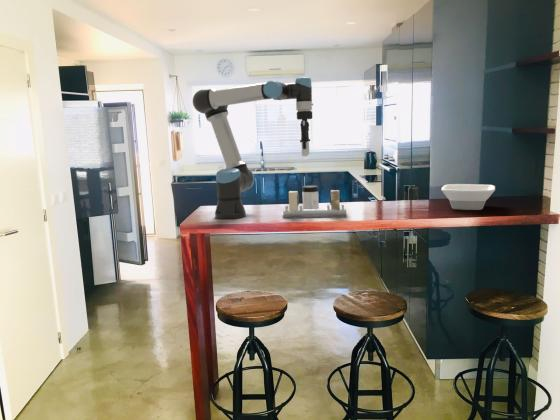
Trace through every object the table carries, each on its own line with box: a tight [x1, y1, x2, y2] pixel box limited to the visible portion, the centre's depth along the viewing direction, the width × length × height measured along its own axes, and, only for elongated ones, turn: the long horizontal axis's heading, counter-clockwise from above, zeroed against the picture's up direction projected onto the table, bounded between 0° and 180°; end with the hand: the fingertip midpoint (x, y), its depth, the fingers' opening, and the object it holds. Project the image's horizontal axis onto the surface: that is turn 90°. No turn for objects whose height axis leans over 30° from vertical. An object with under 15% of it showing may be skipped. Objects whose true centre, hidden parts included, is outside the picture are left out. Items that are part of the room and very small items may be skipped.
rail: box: [282, 190, 348, 219], centre depth 220 cm, size 30×9×12 cm, turn 83°
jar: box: [301, 185, 320, 209], centre depth 241 cm, size 9×8×12 cm
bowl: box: [440, 183, 496, 211], centre depth 227 cm, size 24×25×10 cm
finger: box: [329, 189, 341, 210], centre depth 219 cm, size 4×4×9 cm
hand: (305, 155), depth 224 cm, fingers open, 13 cm apart
